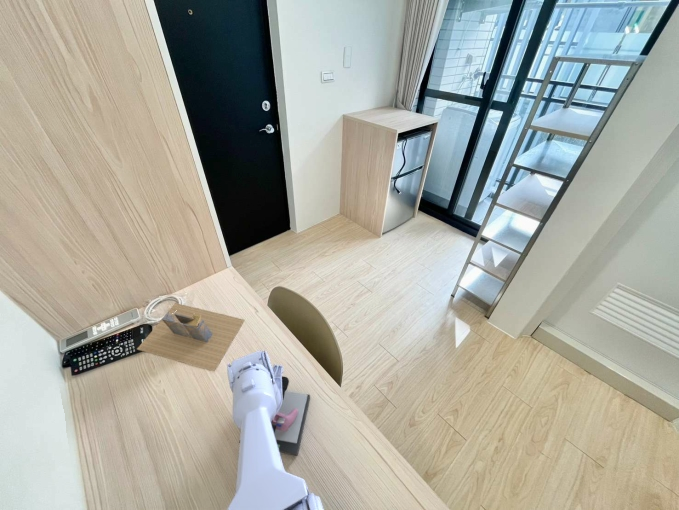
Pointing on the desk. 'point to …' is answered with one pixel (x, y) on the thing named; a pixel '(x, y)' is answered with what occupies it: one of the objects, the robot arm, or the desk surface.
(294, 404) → the scale
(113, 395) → the desk surface
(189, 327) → the ruin model on sheet
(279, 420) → the video game controller
